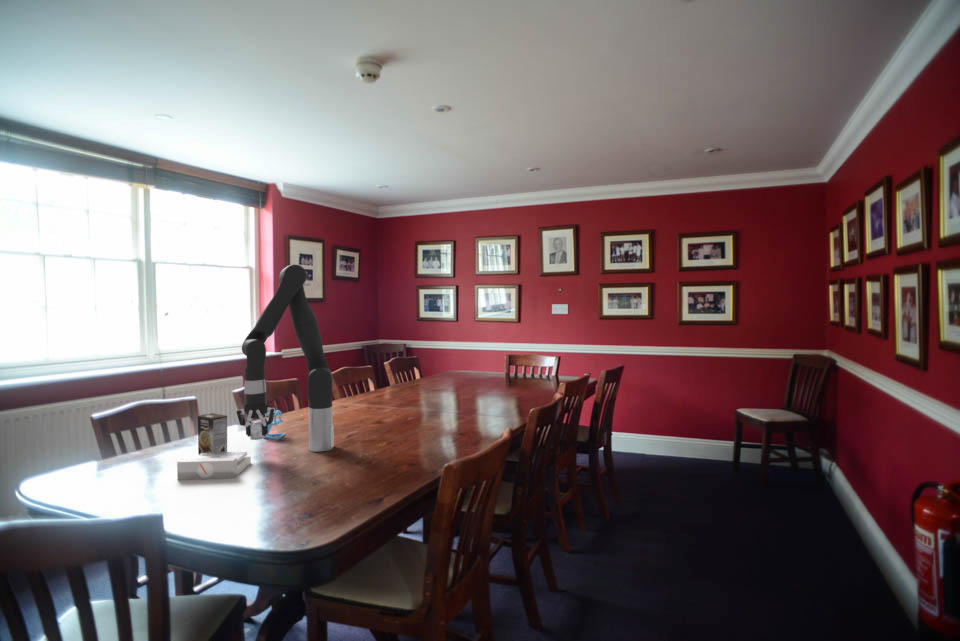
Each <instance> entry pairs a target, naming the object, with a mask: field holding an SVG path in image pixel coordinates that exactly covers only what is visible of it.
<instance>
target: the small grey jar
mask: <svg viewBox="0 0 960 641" xmlns="http://www.w3.org/2000/svg"><path fill="white" fill-rule="evenodd" d="M264 437H265V436H263V424H262V421H261V420H255V421H251V422H250V437H249V438H250V439H249V440H250V441H251V440H252V441H253V440H254V441H257V440H262V439H265V438H264Z"/></svg>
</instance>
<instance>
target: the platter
mask: <svg viewBox="0 0 960 641" xmlns="http://www.w3.org/2000/svg"><path fill="white" fill-rule="evenodd" d="M245 456H248V451H227V452H218V453H201V454H198V455H196V456H195V457H193V458H192V459H213V458H237V463H238V462H239V461H241V460H242V459H243V458H244V457H245Z"/></svg>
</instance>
